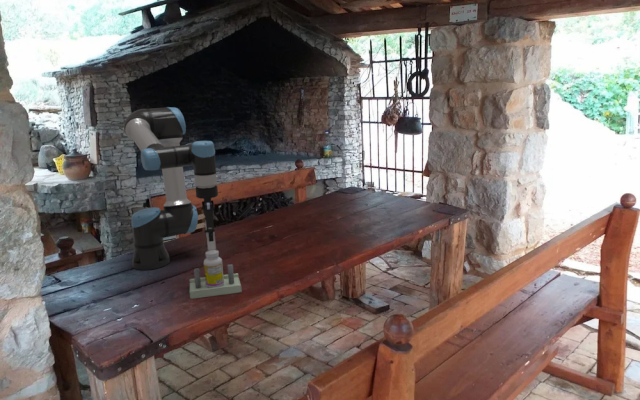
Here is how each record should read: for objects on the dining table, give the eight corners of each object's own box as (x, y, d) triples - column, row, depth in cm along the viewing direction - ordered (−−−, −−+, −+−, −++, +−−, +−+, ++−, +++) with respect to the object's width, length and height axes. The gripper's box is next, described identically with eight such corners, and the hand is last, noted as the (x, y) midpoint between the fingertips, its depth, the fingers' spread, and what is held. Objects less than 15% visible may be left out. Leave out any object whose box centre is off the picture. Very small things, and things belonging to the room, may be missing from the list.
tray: (190, 298, 176) (188, 276, 174) (190, 285, 187) (188, 264, 185) (241, 292, 180) (239, 270, 178) (238, 279, 191) (236, 258, 189)
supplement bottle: (208, 281, 186) (205, 249, 183) (226, 281, 186) (223, 248, 183) (203, 289, 180) (200, 255, 177) (222, 288, 180) (218, 254, 177)
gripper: (219, 192, 163) (223, 253, 169) (215, 177, 187) (219, 231, 192) (195, 194, 162) (201, 256, 167) (194, 179, 185) (199, 233, 190)
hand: (211, 243), depth 179 cm, fingers open, 13 cm apart
